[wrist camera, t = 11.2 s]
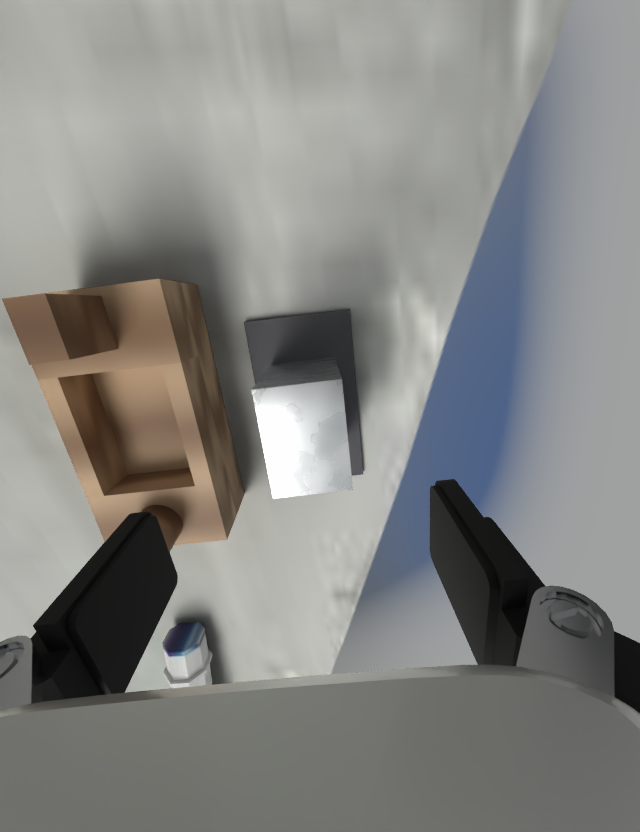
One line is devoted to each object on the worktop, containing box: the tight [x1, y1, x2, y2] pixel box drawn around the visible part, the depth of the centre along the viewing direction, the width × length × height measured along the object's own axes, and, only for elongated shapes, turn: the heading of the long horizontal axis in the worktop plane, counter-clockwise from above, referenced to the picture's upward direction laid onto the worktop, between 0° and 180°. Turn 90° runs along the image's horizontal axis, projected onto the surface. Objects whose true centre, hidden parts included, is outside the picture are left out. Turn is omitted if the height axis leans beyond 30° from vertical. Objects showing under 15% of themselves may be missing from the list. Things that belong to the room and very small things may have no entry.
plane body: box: [2, 279, 244, 552], centre depth 22 cm, size 18×9×10 cm, turn 7°
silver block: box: [252, 357, 353, 499], centre depth 22 cm, size 7×5×8 cm
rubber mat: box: [244, 309, 363, 475], centre depth 26 cm, size 14×8×1 cm, turn 7°
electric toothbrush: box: [163, 622, 212, 688], centre depth 37 cm, size 5×7×25 cm
